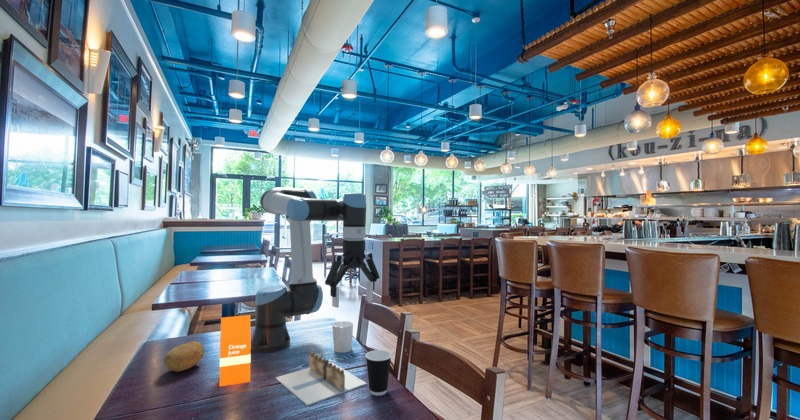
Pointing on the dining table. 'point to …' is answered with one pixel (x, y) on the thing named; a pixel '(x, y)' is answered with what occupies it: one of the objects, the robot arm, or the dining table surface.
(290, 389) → the card
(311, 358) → the beige crenellated panel
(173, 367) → the potato
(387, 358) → the dixie cup
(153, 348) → the dining table surface
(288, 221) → the robot arm
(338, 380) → the fixed fence panel
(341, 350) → the white cup
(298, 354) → the dining table surface
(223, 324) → the orange juice
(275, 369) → the dining table surface
